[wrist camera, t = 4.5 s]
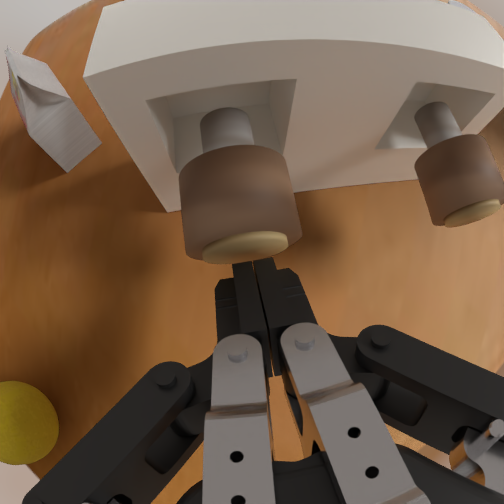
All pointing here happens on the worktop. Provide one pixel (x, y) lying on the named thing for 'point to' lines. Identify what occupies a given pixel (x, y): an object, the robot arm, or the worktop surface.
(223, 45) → the panel
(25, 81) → the white milk carton
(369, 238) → the worktop surface
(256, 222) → the knob
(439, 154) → the knob
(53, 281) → the worktop surface
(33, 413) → the lemon
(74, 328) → the worktop surface
